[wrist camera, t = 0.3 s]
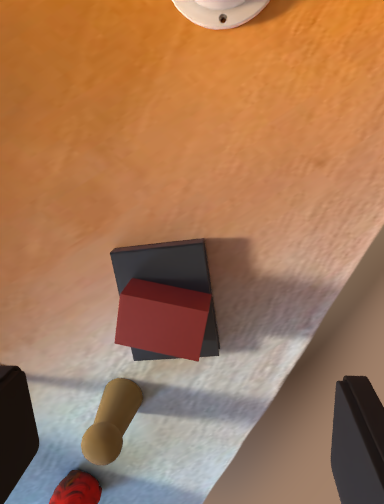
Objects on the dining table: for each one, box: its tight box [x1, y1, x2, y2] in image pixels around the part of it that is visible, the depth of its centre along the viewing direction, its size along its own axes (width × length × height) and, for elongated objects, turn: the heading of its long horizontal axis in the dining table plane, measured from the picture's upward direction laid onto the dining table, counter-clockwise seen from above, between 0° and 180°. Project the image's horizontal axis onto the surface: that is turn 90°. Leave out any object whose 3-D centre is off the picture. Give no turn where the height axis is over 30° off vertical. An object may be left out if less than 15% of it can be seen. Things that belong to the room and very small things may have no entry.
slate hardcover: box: [110, 238, 220, 361], centre depth 49 cm, size 16×12×2 cm
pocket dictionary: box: [115, 278, 212, 361], centre depth 46 cm, size 7×10×5 cm, turn 81°
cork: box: [81, 378, 143, 465], centre depth 50 cm, size 6×6×11 cm
